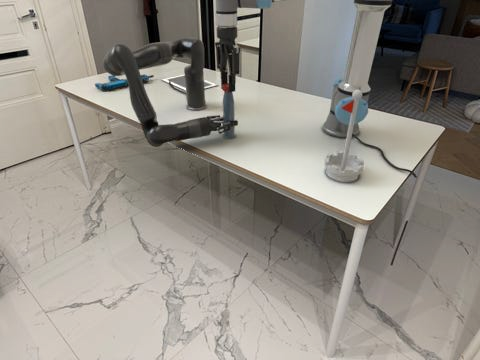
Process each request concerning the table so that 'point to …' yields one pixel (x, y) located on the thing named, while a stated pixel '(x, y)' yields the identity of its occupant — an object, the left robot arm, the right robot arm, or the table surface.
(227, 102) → the bottle
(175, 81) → the tablet
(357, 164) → the flag stand
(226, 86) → the cap
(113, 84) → the submachine gun
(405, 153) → the table surface
